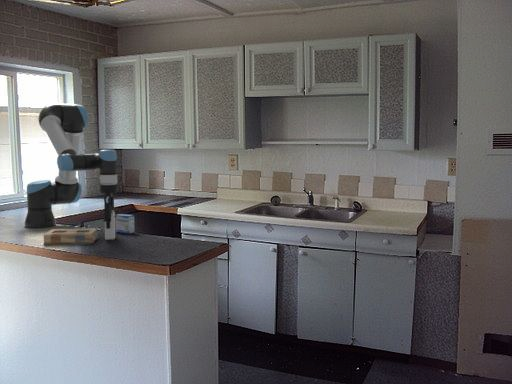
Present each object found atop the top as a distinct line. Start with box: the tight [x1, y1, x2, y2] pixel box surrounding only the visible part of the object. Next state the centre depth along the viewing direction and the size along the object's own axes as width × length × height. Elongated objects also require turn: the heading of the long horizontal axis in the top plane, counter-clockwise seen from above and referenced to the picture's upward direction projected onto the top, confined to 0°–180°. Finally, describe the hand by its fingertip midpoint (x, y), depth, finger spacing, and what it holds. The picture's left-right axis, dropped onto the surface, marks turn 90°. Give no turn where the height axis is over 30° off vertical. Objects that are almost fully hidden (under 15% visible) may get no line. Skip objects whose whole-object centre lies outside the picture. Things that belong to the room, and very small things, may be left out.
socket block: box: [43, 227, 98, 246], centre depth 234 cm, size 14×20×5 cm
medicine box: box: [115, 213, 135, 234], centre depth 256 cm, size 8×4×9 cm, turn 70°
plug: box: [104, 210, 116, 240], centre depth 241 cm, size 4×4×13 cm
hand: (110, 233), depth 241 cm, fingers open, 8 cm apart
